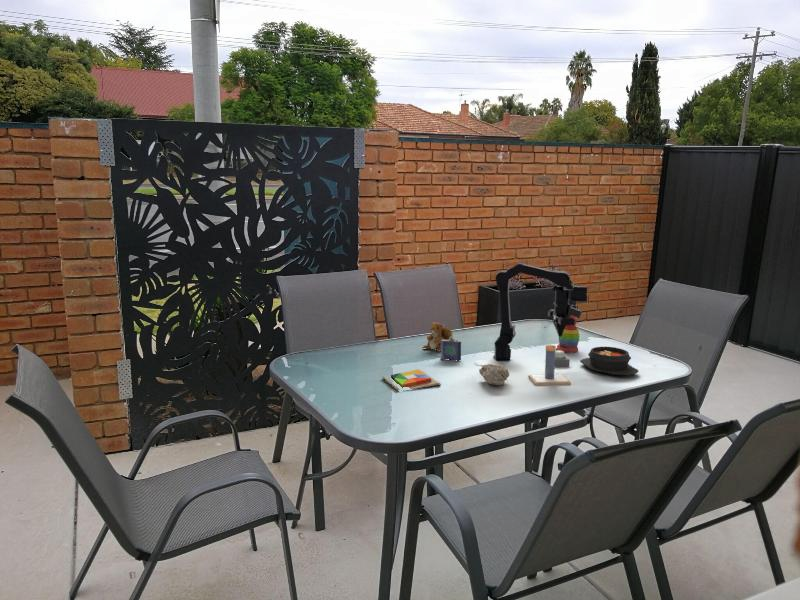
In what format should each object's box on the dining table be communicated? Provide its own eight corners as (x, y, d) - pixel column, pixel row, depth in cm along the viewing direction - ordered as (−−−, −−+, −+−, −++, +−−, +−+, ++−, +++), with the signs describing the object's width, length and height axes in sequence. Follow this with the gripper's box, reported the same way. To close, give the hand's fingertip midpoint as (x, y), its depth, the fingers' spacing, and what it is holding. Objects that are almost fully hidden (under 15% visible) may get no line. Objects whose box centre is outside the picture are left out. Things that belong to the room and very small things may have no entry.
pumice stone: (509, 391, 226) (510, 371, 224) (477, 389, 228) (478, 369, 226) (508, 379, 239) (509, 360, 238) (478, 378, 241) (479, 359, 240)
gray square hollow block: (553, 366, 256) (553, 359, 256) (548, 361, 263) (548, 355, 263) (569, 366, 257) (569, 359, 256) (563, 361, 264) (564, 354, 263)
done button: (555, 361, 258) (556, 353, 257) (552, 359, 262) (553, 350, 261) (564, 361, 258) (565, 352, 257) (561, 359, 262) (562, 350, 261)
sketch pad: (535, 385, 233) (535, 382, 232) (528, 377, 242) (528, 374, 242) (570, 384, 233) (570, 381, 233) (562, 376, 243) (562, 373, 243)
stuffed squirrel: (420, 349, 282) (421, 322, 280) (439, 343, 293) (439, 317, 290) (437, 353, 276) (437, 326, 273) (455, 347, 286) (456, 320, 284)
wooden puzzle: (381, 379, 241) (381, 371, 240) (423, 374, 248) (423, 366, 247) (397, 393, 225) (397, 384, 225) (442, 387, 232) (442, 378, 232)
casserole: (648, 374, 246) (649, 354, 244) (618, 382, 236) (620, 362, 235) (599, 359, 267) (600, 341, 265) (570, 366, 257) (571, 347, 255)
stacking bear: (557, 346, 288) (559, 310, 285) (579, 348, 284) (581, 311, 281) (555, 352, 278) (556, 314, 275) (577, 354, 275) (579, 316, 271)
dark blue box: (439, 359, 266) (440, 336, 264) (441, 358, 269) (442, 334, 267) (460, 361, 263) (460, 338, 261) (461, 360, 266) (462, 336, 264)
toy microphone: (544, 378, 237) (545, 347, 234) (545, 375, 240) (546, 344, 238) (553, 379, 235) (555, 348, 233) (554, 376, 239) (556, 345, 236)
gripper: (588, 305, 246) (586, 341, 249) (572, 296, 264) (571, 330, 267) (561, 305, 245) (559, 342, 248) (548, 296, 264) (546, 331, 267)
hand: (560, 336), depth 258 cm, fingers closed
